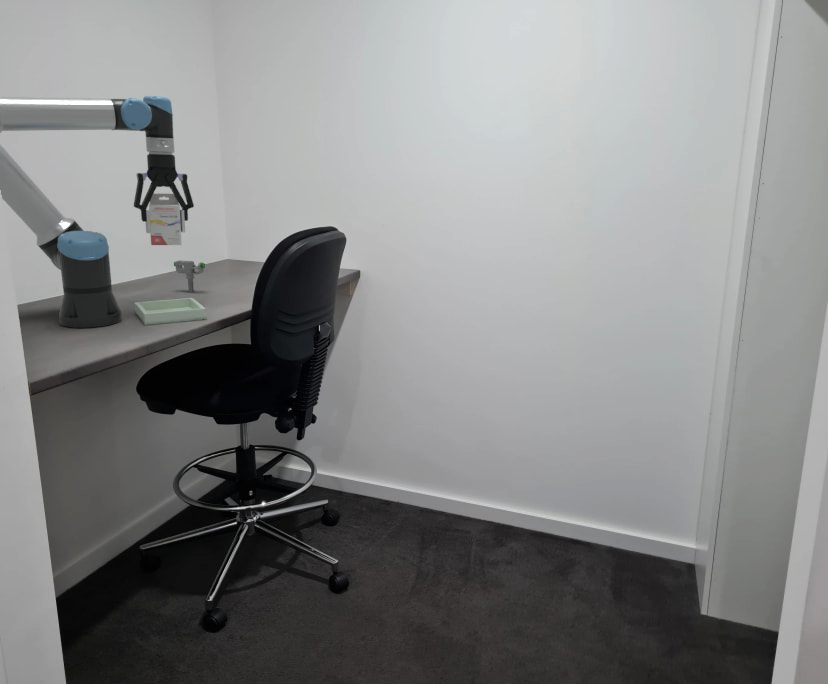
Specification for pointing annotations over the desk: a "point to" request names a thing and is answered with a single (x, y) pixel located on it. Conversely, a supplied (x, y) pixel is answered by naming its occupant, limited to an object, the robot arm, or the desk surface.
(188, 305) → the tray
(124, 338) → the desk surface
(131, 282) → the desk surface
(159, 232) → the ink cartridge box
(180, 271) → the mechanical component
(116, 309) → the robot arm
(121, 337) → the desk surface
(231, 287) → the desk surface
